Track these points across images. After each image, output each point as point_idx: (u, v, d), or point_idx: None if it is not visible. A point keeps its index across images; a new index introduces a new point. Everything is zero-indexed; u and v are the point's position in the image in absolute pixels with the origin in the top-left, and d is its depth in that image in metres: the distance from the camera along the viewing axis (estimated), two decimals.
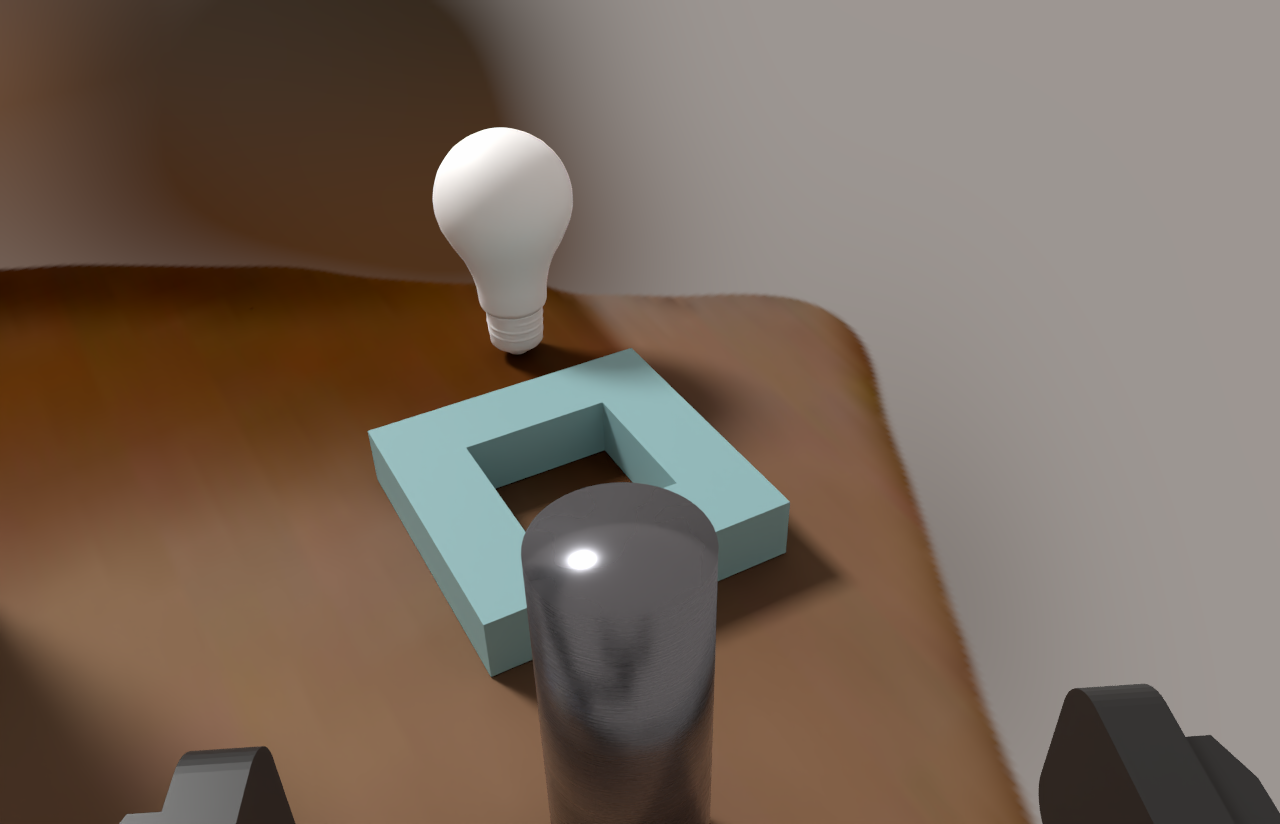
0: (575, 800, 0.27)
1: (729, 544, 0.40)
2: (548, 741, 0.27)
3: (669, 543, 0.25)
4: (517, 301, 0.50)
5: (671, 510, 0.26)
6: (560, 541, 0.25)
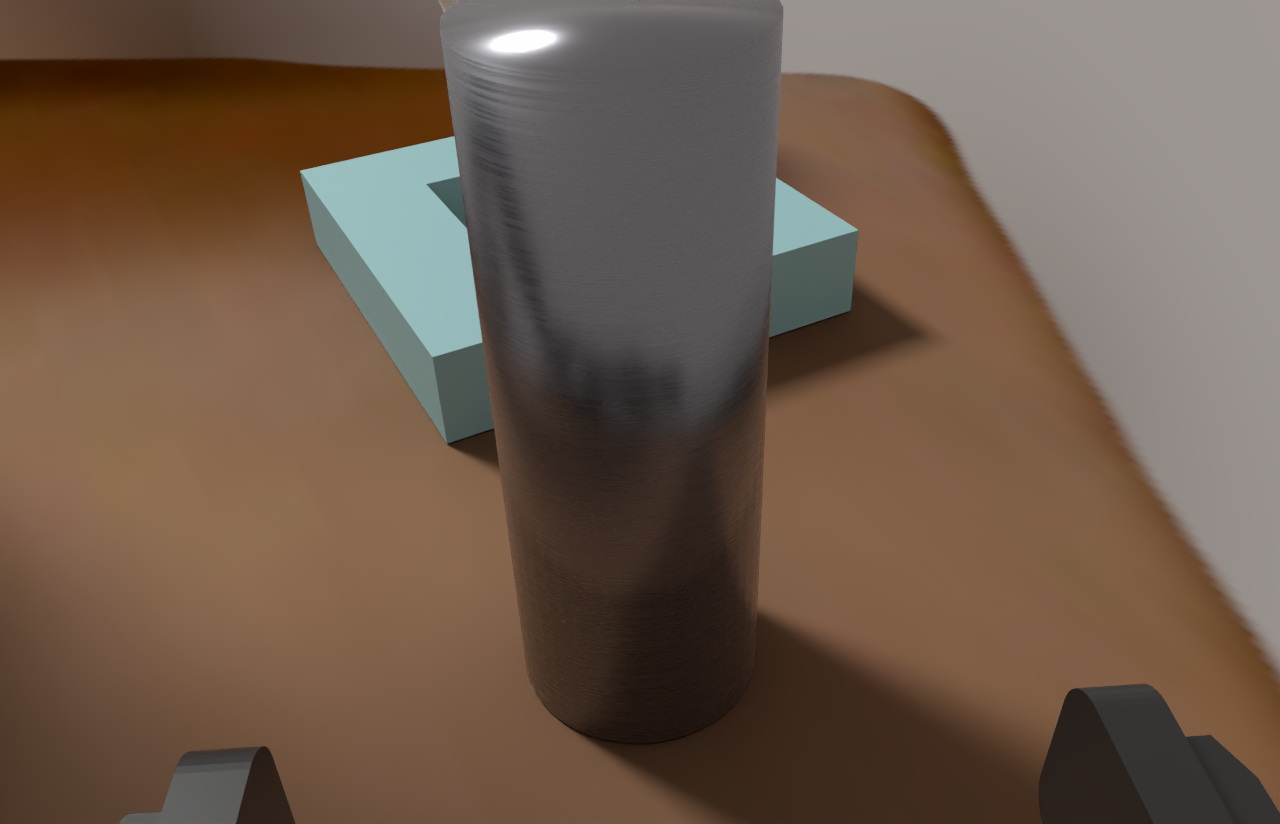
0: (545, 506, 0.17)
1: (776, 283, 0.29)
2: (499, 405, 0.16)
3: (696, 7, 0.14)
4: None
5: None
6: (509, 10, 0.14)
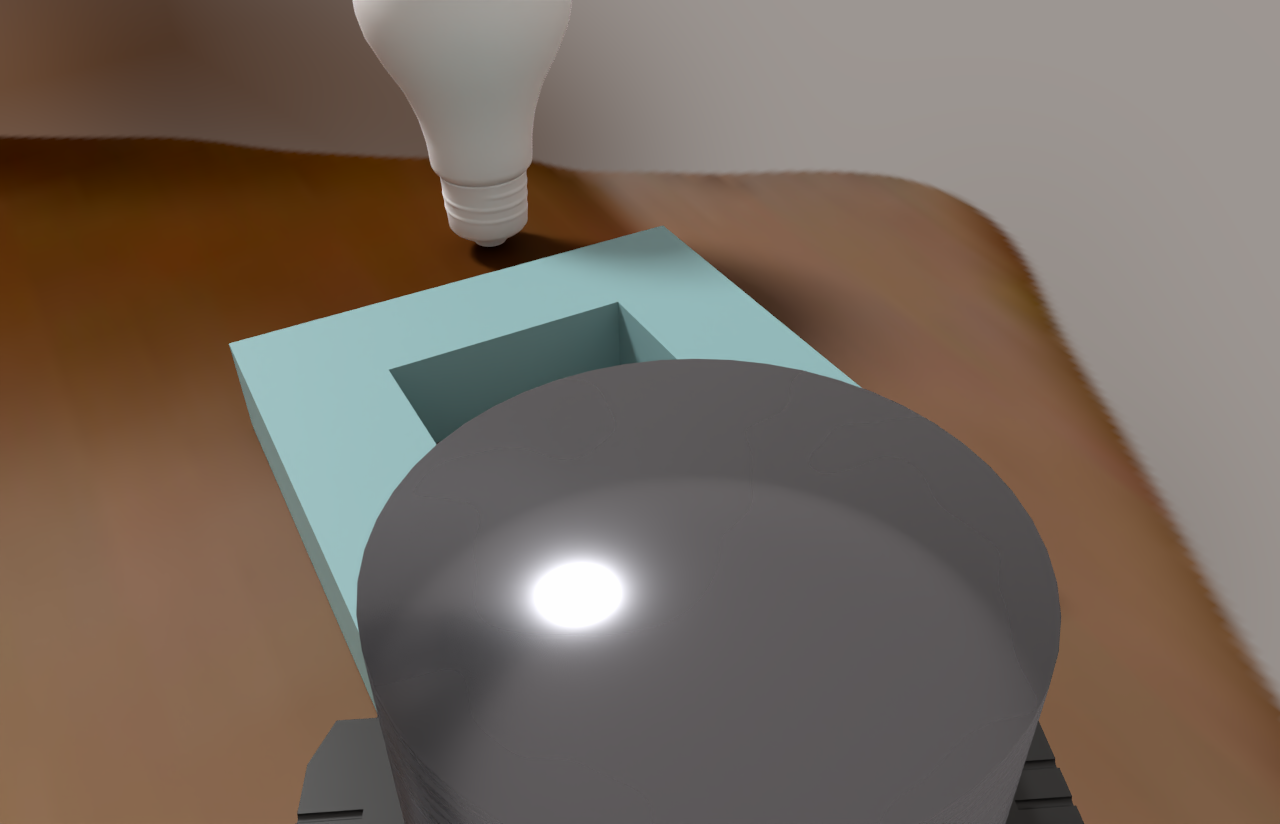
0: None
1: None
2: None
3: (872, 541, 0.07)
4: (487, 155, 0.32)
5: (858, 436, 0.08)
6: (499, 534, 0.07)
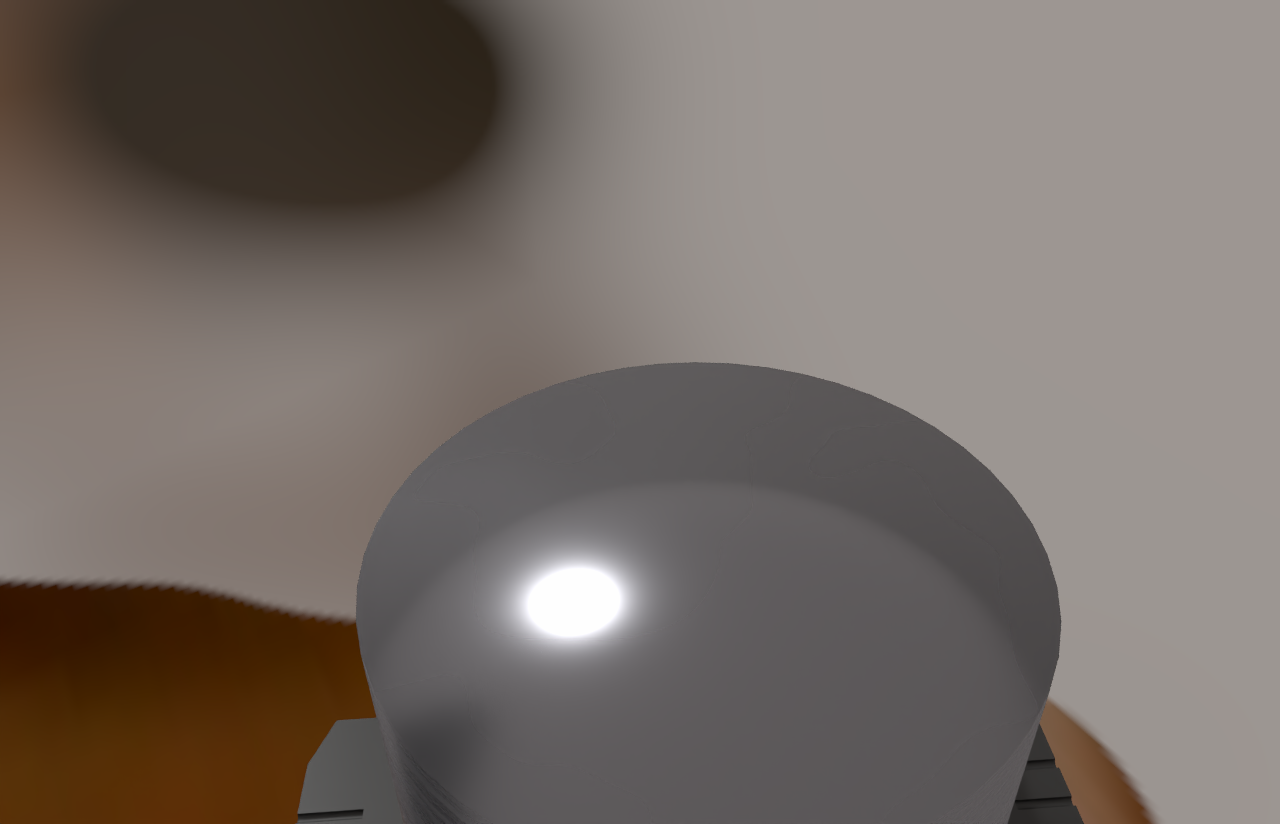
0: None
1: None
2: None
3: (872, 544, 0.07)
4: None
5: (858, 440, 0.08)
6: (499, 539, 0.07)
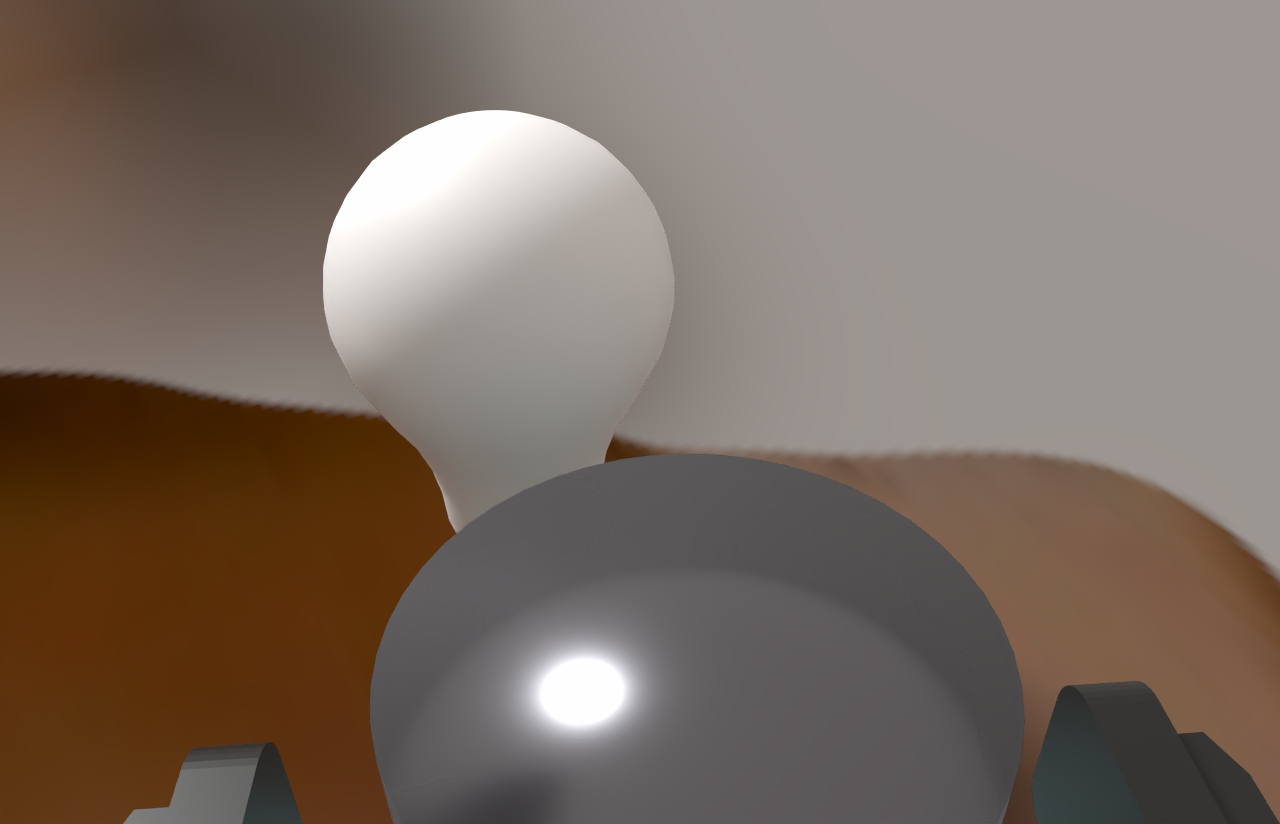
0: None
1: None
2: None
3: (849, 643, 0.08)
4: None
5: (839, 534, 0.09)
6: (502, 638, 0.08)
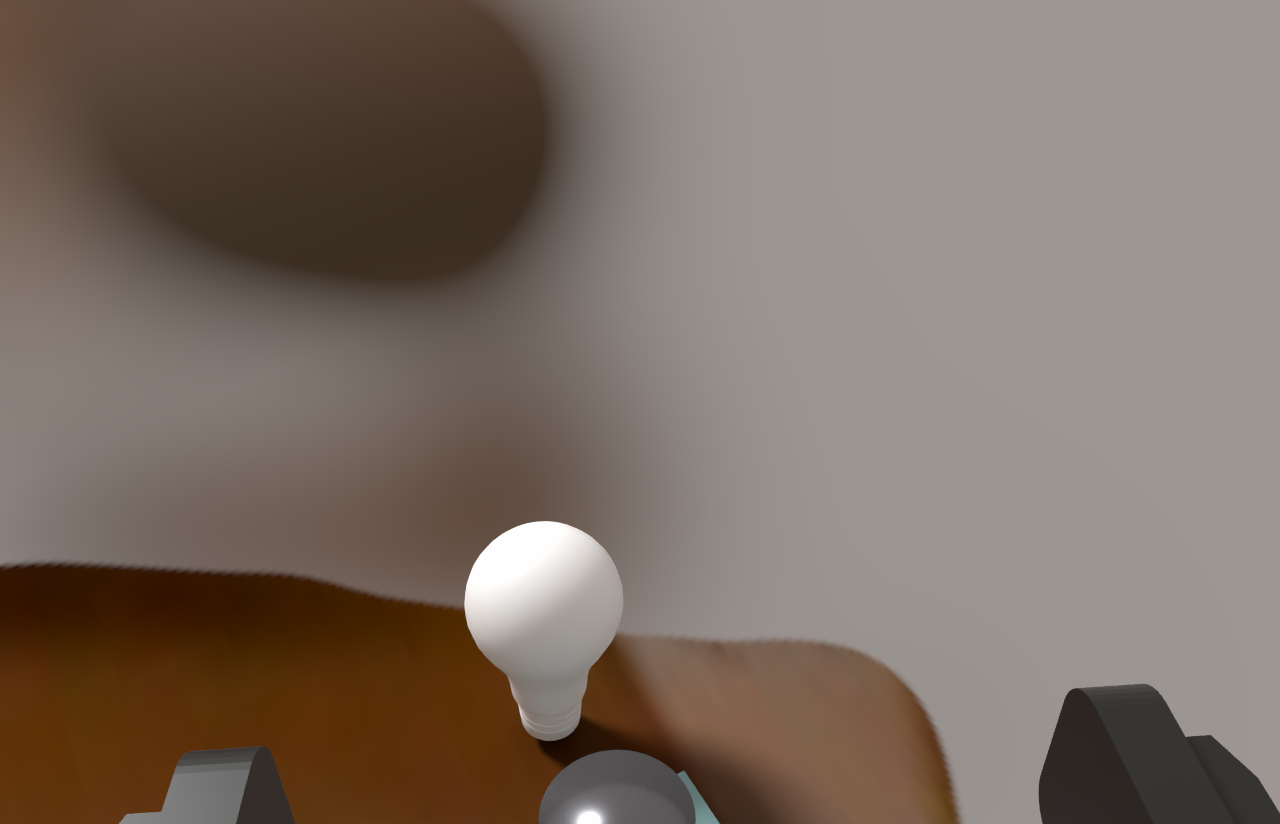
0: None
1: None
2: None
3: (656, 814, 0.31)
4: (556, 703, 0.44)
5: (658, 780, 0.32)
6: (569, 811, 0.31)
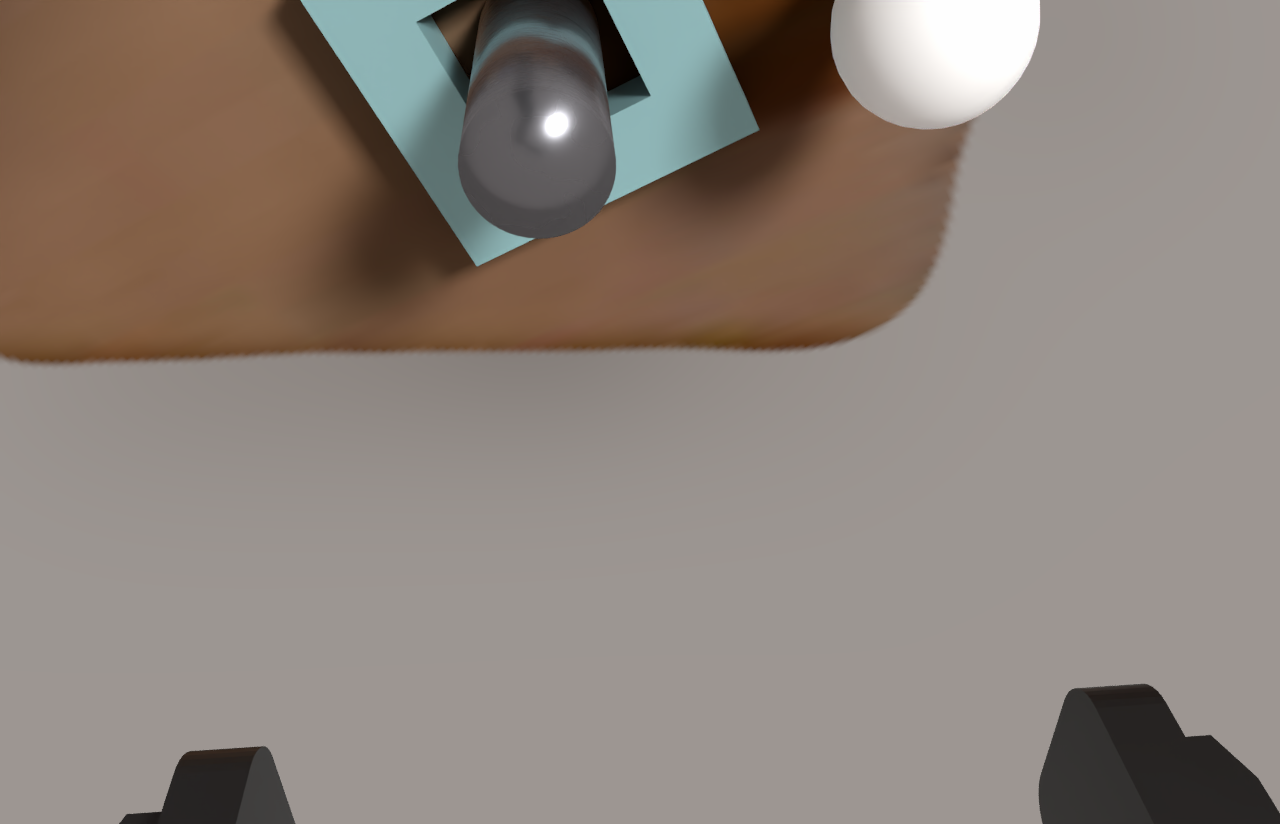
0: (481, 43, 0.35)
1: None
2: (500, 38, 0.34)
3: (540, 203, 0.31)
4: None
5: (579, 206, 0.32)
6: (542, 121, 0.30)
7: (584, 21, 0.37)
